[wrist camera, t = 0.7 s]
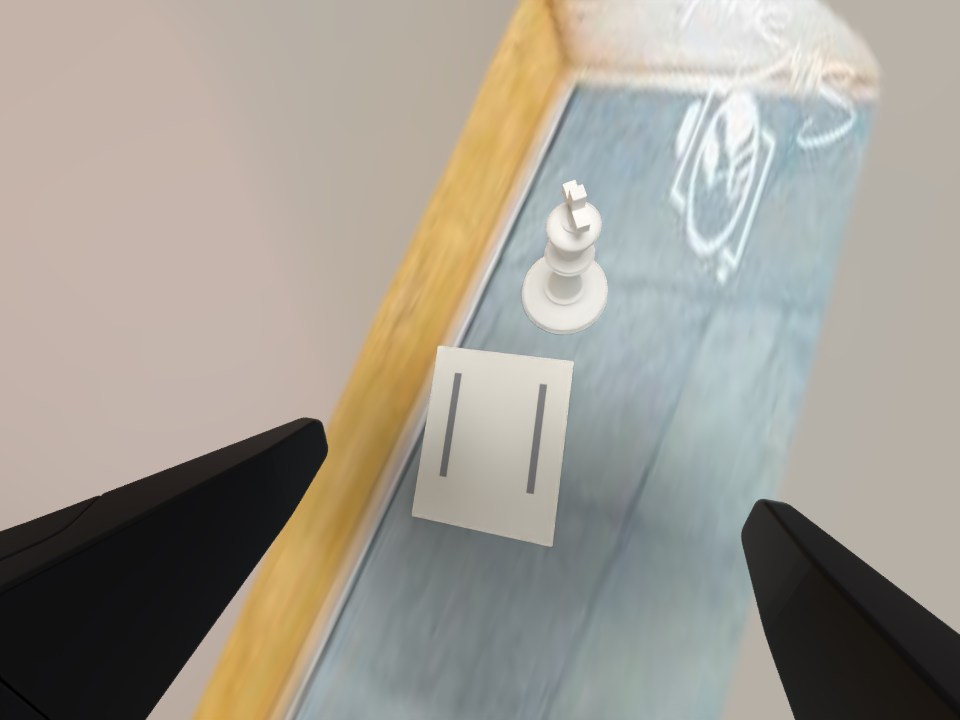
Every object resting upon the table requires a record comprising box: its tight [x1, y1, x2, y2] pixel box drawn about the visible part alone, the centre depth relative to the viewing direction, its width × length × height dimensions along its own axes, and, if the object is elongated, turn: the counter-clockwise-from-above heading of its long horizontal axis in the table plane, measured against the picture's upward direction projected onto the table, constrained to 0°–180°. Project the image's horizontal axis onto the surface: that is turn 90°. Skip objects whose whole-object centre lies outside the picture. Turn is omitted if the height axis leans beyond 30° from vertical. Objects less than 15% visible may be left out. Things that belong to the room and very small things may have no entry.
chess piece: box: [522, 180, 608, 334], centre depth 16 cm, size 5×5×10 cm
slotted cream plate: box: [411, 346, 574, 547], centre depth 20 cm, size 10×8×1 cm
